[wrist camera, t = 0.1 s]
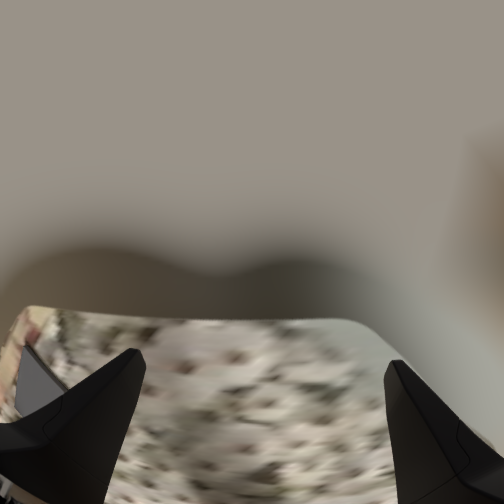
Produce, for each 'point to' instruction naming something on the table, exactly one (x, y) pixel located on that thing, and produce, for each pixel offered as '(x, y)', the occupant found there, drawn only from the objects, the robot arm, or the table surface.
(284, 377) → the table surface
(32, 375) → the mat
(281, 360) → the table surface
